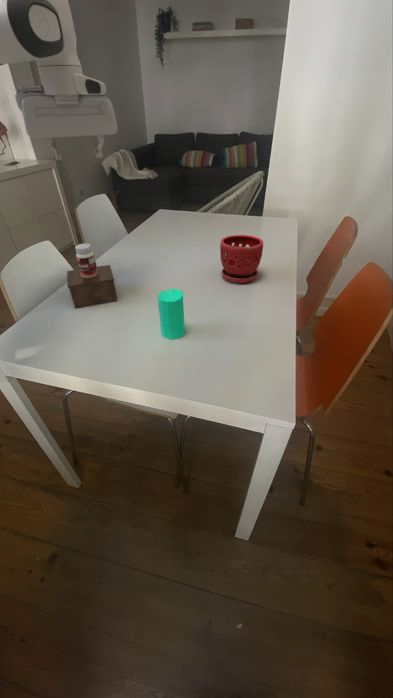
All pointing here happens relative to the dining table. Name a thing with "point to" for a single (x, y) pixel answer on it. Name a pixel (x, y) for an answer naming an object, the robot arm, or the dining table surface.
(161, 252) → the dining table surface
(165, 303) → the candle
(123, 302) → the dining table surface
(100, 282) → the walnut box
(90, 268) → the pill bottle
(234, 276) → the flower pot
